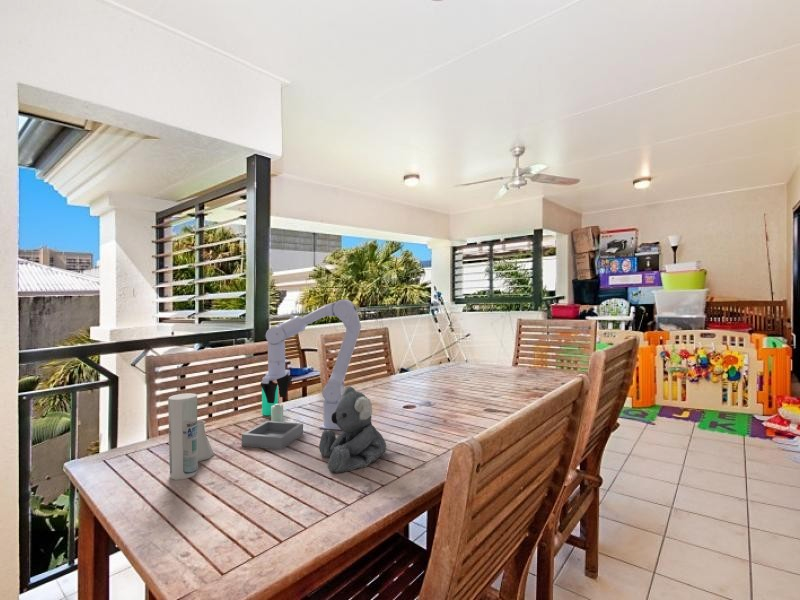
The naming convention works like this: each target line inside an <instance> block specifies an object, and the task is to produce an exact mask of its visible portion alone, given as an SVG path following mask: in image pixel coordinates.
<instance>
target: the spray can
mask: <svg viewBox="0 0 800 600" xmlns="http://www.w3.org/2000/svg"><path fill="white" fill-rule="evenodd" d="M167 405H168V406H167V407H168V411H167V412H168V443H169V444H168V445H169V447H168V448H169V449H168V451H169V455H168V456H169V457H168V459H169V478H170V479H171V480H176V481H177V480H179V481H180V480H185V479H188V478H192V477H194V476H195V475H196V474H197V473H198V470H199V469H198V468H199V465H198V458H197V421H198V395H197V393H191V392H188V393H187V392H186V393H178V394H174V395H171V396H169V397H168V398H167Z"/></svg>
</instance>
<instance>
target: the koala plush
mask: <svg viewBox="0 0 800 600" xmlns="http://www.w3.org/2000/svg"><path fill="white" fill-rule="evenodd" d="M342 397H343V398H342V400H341V402H340V403H339V405H338V406H337V409H336V411H335V412H334V413H333V414H332V417H331V419H332V422H333V423H334V424H337V425H338V427H339V428H340V429H341V430H340V431H342V432H341V433H339V434H338V436H337V435H336V433H335V431H334V430H333V429H326V430H325V429H324V430H323V431H322V434H321V436H320V441H319V444H318V449H319V452H320V453H321V455H323V457H325V458H326V457H327V458H329V459H328V460H327V469H328V470H329V472H331V473H333V472H334V473H344V471H345V472H348V471H350V470H351V471H352V470H355V469H359V468H367V467H368V466H369V465H370V464H371V462H372V463H374V462H375V461H377V460H378V459H379V458H380V457H382V456H383V455H385V453H386V452H387V442H386V440H385V439H384V436H383V435H382V434H381V433H380V432H379V431H378V430H377V429H376V427H375V426H374V425H373V423H372V415H373V406H372V405H373V404H372V402H371V399H370V398H368V396H366V395H365V394H364V393H362V392H360V391H357V390H356V389H355V388H354V387H353V386H351V385H349V384H348V385H347V386H344V389H343V392H342ZM366 466H367V467H366Z"/></svg>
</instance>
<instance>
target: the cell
mask: <svg viewBox="0 0 800 600" xmlns="http://www.w3.org/2000/svg"><path fill="white" fill-rule="evenodd" d="M270 418H271V419H270V421H277V422H284V404H280V403H278V404H275V405H273V406H271V415H270Z"/></svg>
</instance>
